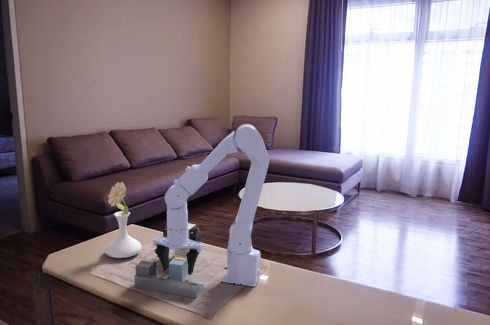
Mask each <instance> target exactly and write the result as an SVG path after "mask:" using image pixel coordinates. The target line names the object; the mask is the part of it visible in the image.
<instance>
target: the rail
mask: <svg viewBox="0 0 490 325" xmlns="http://www.w3.org/2000/svg"><path fill="white" fill-rule="evenodd" d="M203 287H204V288H205V286H204V284H203V283H197V282H190V281H189V282H188V281H185V280H183V281H177V280H171V279H169V278H164V277H157V260H152V259H146V258H145V259H142V260H141V261H140V262H138V263H137V264H136V265H135V274H134V288H135V289H141V290H148V291H154V292H160V293H165V294H172V295H176V296H177V295H178V296H183V297H184V296H185V297H191V298H198V297H199V296H200V294H201V292H202V291H203V290H202V289H204V288H203ZM201 290H202V291H201Z"/></svg>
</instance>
